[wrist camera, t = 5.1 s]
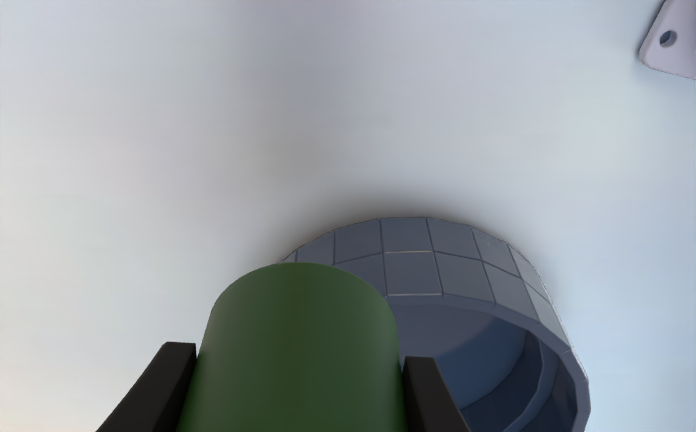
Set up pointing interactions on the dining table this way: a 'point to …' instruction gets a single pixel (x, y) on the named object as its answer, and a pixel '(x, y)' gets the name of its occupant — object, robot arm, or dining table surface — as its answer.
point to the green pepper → (297, 356)
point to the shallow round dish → (468, 318)
